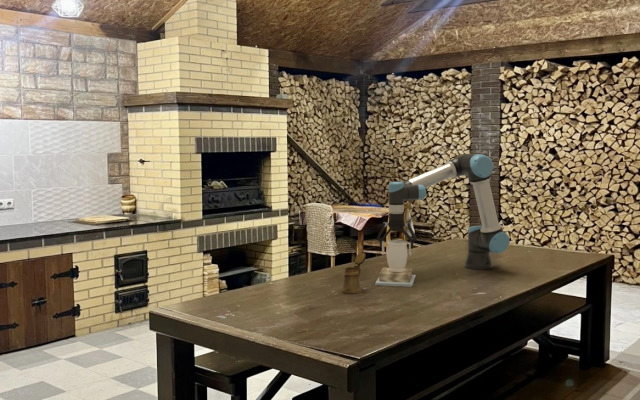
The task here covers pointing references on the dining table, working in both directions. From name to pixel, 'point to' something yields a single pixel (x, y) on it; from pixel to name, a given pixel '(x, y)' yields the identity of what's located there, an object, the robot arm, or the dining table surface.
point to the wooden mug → (353, 275)
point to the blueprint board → (396, 283)
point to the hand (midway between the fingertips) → (396, 254)
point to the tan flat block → (395, 275)
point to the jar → (397, 255)
